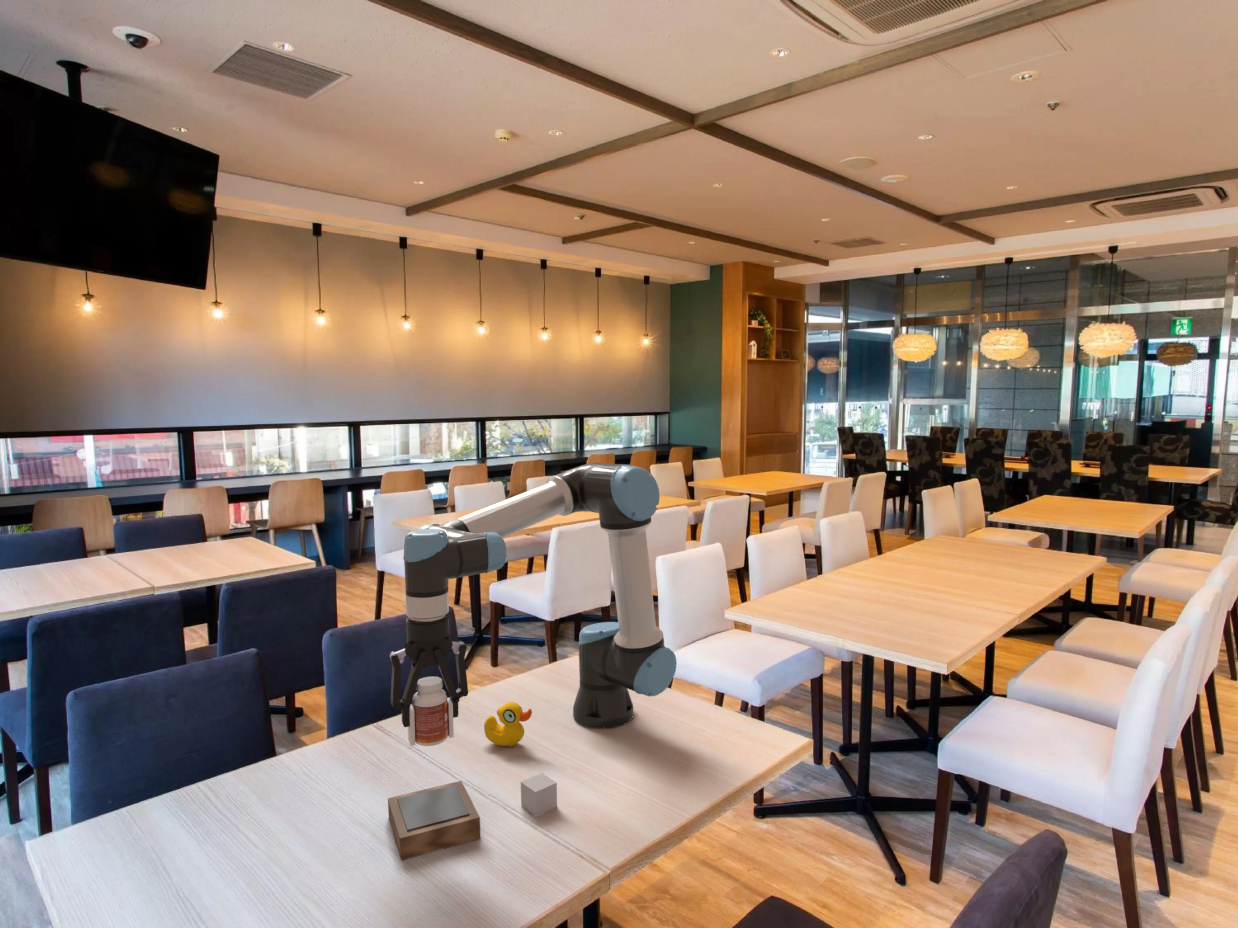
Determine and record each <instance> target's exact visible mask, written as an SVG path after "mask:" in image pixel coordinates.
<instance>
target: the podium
mask: <svg viewBox="0 0 1238 928" xmlns="http://www.w3.org/2000/svg"><path fill="white" fill-rule="evenodd" d="M387 809H388V820H389V825H390V828H391V830H392V835H393V837H394V841H395V844H396V849H397V852H398V855H399V859H400V861H404V860H406V859H411V858H414V857H417V856H422V855H425V854H428V853H429V854H430V853H432V852H436V851H439V850H444V849H447V848H450V847H453V846H457V845H461V844H462V845H463V844H464V843H467V842H472V841H475V840H480V839H481V817H480V815H479V812H478V811H477V808H476V807H475V805H474V802H473V801H472V799H471V797H470V795H469V793H468V791H467V789H466V787H465V785H464V783H463V781H462V780H458V781H453V782H450V783H446V784H442V785H438V786H434V787H429V788H424V789H421V790H417V791H413V792H408V793H403V794H400V795H396V796H392V797H388V798H387Z"/></svg>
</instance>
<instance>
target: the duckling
mask: <svg viewBox="0 0 1238 928" xmlns="http://www.w3.org/2000/svg"><path fill="white" fill-rule="evenodd" d="M532 714H533V711H532V709H531V708H529V709H528V710H526V711H523V708H522V706H521V705H520V704H519V703H517V702H514V701H509V702H506V703H505V704H503V705H502V706H500V707H498V708H497V709H496V715H497V717H498V718H499V719H498V720H499V721H500V722H501V723H502V724H500V723H498V721H497V718H496V717H495V716H494V715H489V716H487V718H486V719H485V721H484V724H483V725H484V726H483V728H484V734H485V737H486V738H487V740H489V742H491V743H493V744H495V745H496V746H502V747H511V748H512V747H513V746H516V745H517V744H518V743H519V742H520V741H521V740H522V739H523V738H524V735H525V728H524V726H523V724H522V723H521V722H526V721H528V720H530V719H531V717H532Z"/></svg>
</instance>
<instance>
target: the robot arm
mask: <svg viewBox="0 0 1238 928" xmlns="http://www.w3.org/2000/svg"><path fill="white" fill-rule="evenodd" d="M652 474H653V473H651V472H649V471H648V470H647V469H646V468H643V467H640V466H636V465H633V464H624V463H623V464H622V463H620V464H619V463H605V462H590V463H586V464H583V465H579V466H576V467H573V468H570V469H568V470H565V471H563V472H560V473H558V474H555V475H552V476H550V477H549V478H548V479H547V481H546V483H544V484H541V485H539V486H537V487H535V488H532V489H529V490H526V491H525V492H522V493H519V494H516V495H514V496H512V497H509V498H507V499H504V500H502V501H499V502H497V503H494V504H492V505H491V504H490V505H489V506H486V507H484V508H482V509H479V510H476V511H474V512H471V513H469V514H466V515H464V516H461V517H458V518H456V519H453V520H450V521H447V522H445V523H442V524H438V523H429V524H425V525H423V526H421V527H419V529H416V530H412V531H409V532H408V533H406V535H405V536H404V541H403V542H404V543H403V563H404V565H403V566H404V583H405V587H404V588H405V615H406V616H407V618H406V620H405V622H406V625H405V626H406V630H405V631H406V643H405V644H404V645H403V646H404V647H403V648H402V649H400V650H397V651H394V650H392V651H390V652H389V653H388V656H389V658H390V661H391V666H392V667H391V681H390V682H391V683H390V685H391V687H390V704H391V707H392V708H393V709H394V710H397V709H398V710H401V723H402V726H403V728H407V731H408V732H407V734H408V737H407V738H408V743H409V744H410V746H411V747H412V746H415V745H416V743H415V718H414V709H413V704H412V700H413V696H414V695H415V693H416V692H415V691H416V686H417V682H418V680H419V679H420V675H421V673H422V671H423V669H426V668H429V667H438V669H439V672H440V674H441V677H442V680H443V683H444V684H445V687H446V689H447V693H448V694H449V695H448V696H449V697H447V710H448V739H451V738H454V737H455V736H454V733H455V732H454V718H458V717H459V702H460V701H461V700H460V699H461V698H463V697H467V696H468V695H469V688H468V678H467V668H466V659H465V657H466V653H467V649H468V647H467V645H466V644H465V642H464V641H463V640H459V641H453V640H452V639H451V636H450V616H449V615H448V613H449V612H450V608H449V607H450V605H449V603H450V602H449V601H450V600H449V580H453V579H458V578H464V577H469V576H470V577H471V576H474V575H481V574H488V573H491V572H494V571H497V570H500V569H502V568H503V567H504V566H505V563H506V562H507V556H508V555H507V550H508V549H507V545H506V542H505V539H504V538H506V537H509V536H511V535H513V534H515V533H517V532H521V531H523V530H526V529H528V528H529V527H532V526H535V525H537V524H540V523H542V522H544V521H547V520H549V519H551V518H553V517H555V516H558V515H559V516H562V517H566V516H569V515H572V514H575V513H581V512H586V513H587V512H590V513H594V514H598V516H599V517H598V518H599V525H600V528H601V529H602V530H603V531H604V532H605V533H607V534H608V535H607V536H608V543H609V544H608V545H609V554H610V561H611V562H610V563H611V569H612V570H611V571H612V578H613V587H614V595H615V604H616V605H615V607H616V614H617V621H603V622H598V623H593V624H588V625H586V626H584V627H583V628H582V629H581V630H580V632H579V637H578V640H579V641H578V662H579V663H578V664H579V665H578V669H579V672H578V673H579V687H578V691H577V694H576V697H575V700H574V704H573V706H572V716H573V717H574V718H573V717H572V718H573V719H574V721H575V722H576V723H578V724H579V725H581V726H583V727H587V728H592V729H612V728H617V726H618V727H621V726H624V725H625V724H624V723H626V724H627V722H628V721H629V720H630V719H631V718H632V716H633V717H634V704H633V700H632V699H631V698H632V697H631V695H630V692H629V690H630V691H633V692H634V693H636V694H637V695H643V696H645V697H656V696H658V695H660V694H662V693H663V692H664V691H665V690H667V688H668V687H669V686H670V685H671V682H672V680H673V679H674V677H675V674H676V671H677V670H676V669H677V656H676V654H675V653H674V651H672V649H670V647H666V646H665V640H664V639H665V637H664V632H663V630H662V629H660V628H659V627H658V626H657V624H656V615H655V606H654V605H655V603H654V597H653V589H652V577H651V569H650V568H651V567H650V557H649V549H648V540H647V538H648V537H647V528H648V527H649V526H650V525H651V523H652V516H654V514H656V511H657V510H658V508H657V506H658V505H659V503H660V488H659V485H658V482H657V480H656V479H655V477H654V476H653V475H652ZM451 649H452V652H453V654H455V655H454V656H455V657H454V658H455V665H456V674H457V675H456V676H457V685H458V688H457V689H456V687H455V684H454V680H453V679H452V676H451V674H450V671H449V669H448V666H447V662H446V661H445V659H446V657H447V656H448V654H449V653H450V652H451ZM406 656H407V657H408V658H409V659H410V660H411V661H412V662H411V665H410V670H409V675H408V678H407V680H406V684H405V686H404V690H403V695H402V698H401V683H402V682H401V681H402V680H401V679H402V664H403V663H404V660H405V657H406ZM632 719H633V718H632ZM632 719H631V720H632ZM631 720H630V721H631ZM630 721H629V722H630ZM629 722H628V723H629ZM623 724H624V725H623Z"/></svg>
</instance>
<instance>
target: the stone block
mask: <svg viewBox="0 0 1238 928" xmlns="http://www.w3.org/2000/svg"><path fill="white" fill-rule="evenodd" d="M557 789H558V784H557V781H556V780H553V779H551V778H550V777H549V776H548V775H546V774H544V773H542V772H541V773H538V774H535V775H533V776H531V777H529V778H526V779H524V780H521V781H520V804H521V807H522V808H524V809H525V810H526V811H528V812H529V813H530V814H531V815H533V816H534V817H539V816H541V815H543V814H545V813H547V812H549V811H551V810H554V809H556V808H557V807H558V792H557V791H558V790H557Z"/></svg>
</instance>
